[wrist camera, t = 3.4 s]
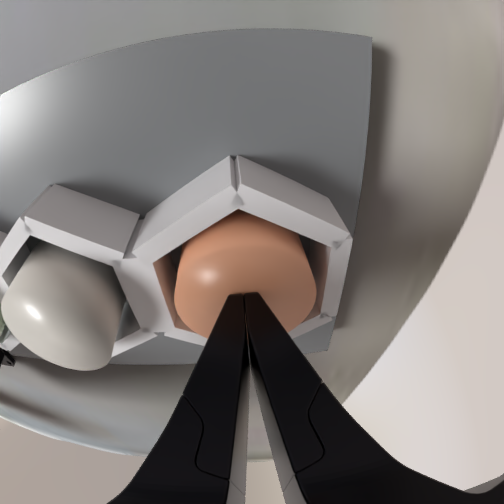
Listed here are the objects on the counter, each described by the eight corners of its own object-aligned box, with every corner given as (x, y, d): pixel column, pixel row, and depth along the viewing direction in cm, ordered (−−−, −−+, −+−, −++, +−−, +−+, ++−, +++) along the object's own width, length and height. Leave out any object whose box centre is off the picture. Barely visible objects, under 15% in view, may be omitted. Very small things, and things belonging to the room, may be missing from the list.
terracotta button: (192, 296, 11) (189, 348, 9) (171, 205, 9) (158, 253, 7) (296, 287, 12) (309, 337, 10) (302, 194, 9) (323, 239, 7)
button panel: (18, 338, 15) (2, 379, 12) (-79, 151, 6) (-120, 185, 4) (321, 328, 16) (336, 382, 13) (351, 38, 7) (410, 37, 4)
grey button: (57, 319, 10) (40, 366, 8) (13, 243, 8) (-19, 290, 6) (140, 318, 11) (130, 373, 9) (104, 229, 8) (76, 285, 6)
